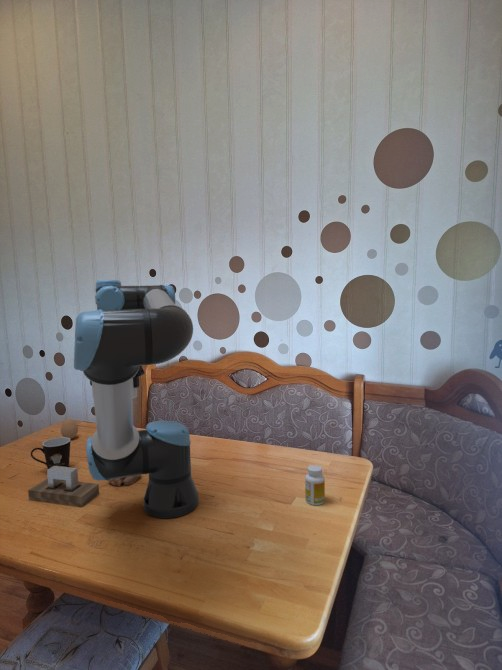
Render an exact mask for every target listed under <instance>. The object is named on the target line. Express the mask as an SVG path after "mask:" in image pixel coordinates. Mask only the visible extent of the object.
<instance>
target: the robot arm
mask: <svg viewBox="0 0 502 670" xmlns="http://www.w3.org/2000/svg"><path fill="white" fill-rule="evenodd" d="M94 299H95V300H94V301H95V304H96V310H88V311H87V310H86V311H82V312H79V313H78V315H77V316H76V317H75V328H74V350H73V368H74V369H75V370H77V371H80V372H83V375H84V376H85V377H86V378H87V380H89V384H90V386H91V387H92V388H91V390H92V398H93V406H94V415H95V424H96V430H95V431H94V432H93V435H92V436H90V437H88V438H87V440H86V448H85V449H86V459H87V461H86V462H87V465H88V471H89V474H90V476H91V478H92V479H93V480H95V481H98V482H99V481H101V482H102V481H109V480H111V479H118V478H124V477H130V476H136V475H141V476H142V475H147V474H148V483H147V486H146V490H145V494H144V497H143V511H144V513H146V515H149V516H150V517H153V518H158V519H174V518H179V517H182V516H185V515H187V514H190V513H191V512H193V511H195V509H197V506H199V493H198V490H197V487H196V484H195V482H194V480H193V477H192V465H191V464H192V463H191V462H192V461H191V441H192V440H191V439H190V430H189V428H188V426H186V425H185V424H183V423H181V422H179V421H172V420H155V421H151V422H148V423H147V424H146V426H145V429H141V430H138V429H137V428H136V426H135V425H134V406H133V405H134V401H133V399H136V398H138V388H139V387H140V376H143V375H145V370H144V368H143V366H148V365H149V366H151V365H160V364H163V363H166V362H169V361H171V360H173V359H174V358H176V357H177V356H180V355H181V353H183V352H184V351H185V349H186V348H187V347H188V346H189V344H190V342H191V341H192V338H193V334H194V325H193V321H192V318H191V317H190V315H189V314H188V312H187V311H186V310H185V309H184V308H182V307H180V306H179V305H176V292H175V288H174V286H172V285H164V284H159V285H158V284H157V285H122V282H121V281H120V280H119V279H99V280H97V281H96V282H95V297H94Z"/></svg>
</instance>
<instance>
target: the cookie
mask: <svg viewBox="0 0 502 670" xmlns="http://www.w3.org/2000/svg"><path fill="white" fill-rule="evenodd" d="M141 476H142V475H136V476H130V477H124V478H118V479H111V480H108V484H110V485H112V486H116V487H120V488H121V487H124V486H125V487H126V486H131V485H134V484H135V483H137V482H138V481H140V479H141Z"/></svg>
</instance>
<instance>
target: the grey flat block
mask: <svg viewBox="0 0 502 670" xmlns="http://www.w3.org/2000/svg"><path fill="white" fill-rule="evenodd" d="M78 484H79V488H78V489H76V490H75V491H73V492H67V490H66V480H61V486H59V487H58V488H56V489H55V490H51V489H49V488H48V477H47V478H46V479H44V480H42V481H40V482H39V483H38V484H35V485H34V486H32V487H31V488H29V489H28V490H27V495H28V501H33V502H34V501H35V502H41V503H49V504H50V503H51V504H57V505H64V506H71V507H78V508H79V507H80V508H83V507H84V506H85V505H87V504H88V503H89V502H90V501H92V500H93V499H95V498H96V497H97V496H98V495H100V487H99V485H100V484H99V483H94V482H84V481H78Z"/></svg>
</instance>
